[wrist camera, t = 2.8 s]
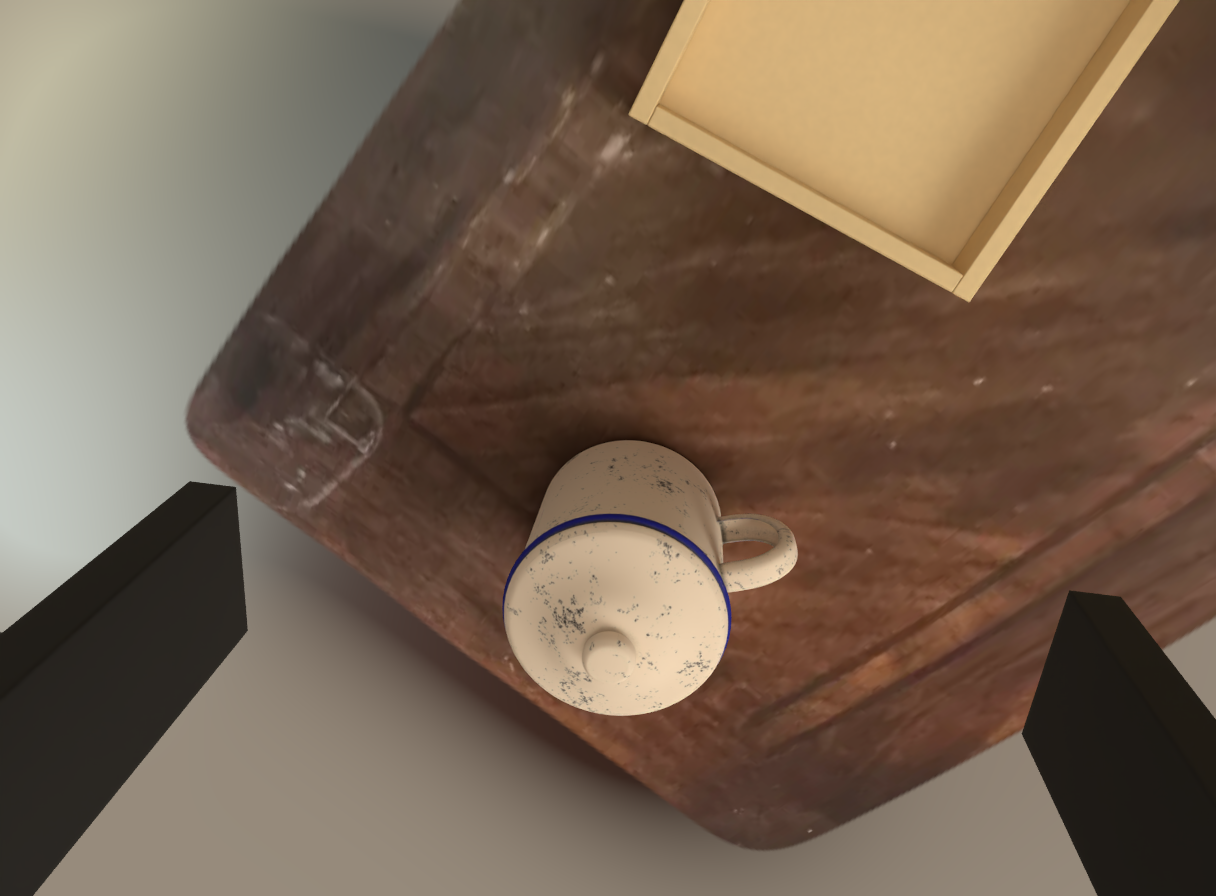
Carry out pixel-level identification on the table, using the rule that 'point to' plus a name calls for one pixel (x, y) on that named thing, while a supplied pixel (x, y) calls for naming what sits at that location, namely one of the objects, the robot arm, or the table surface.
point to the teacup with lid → (632, 580)
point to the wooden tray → (898, 110)
